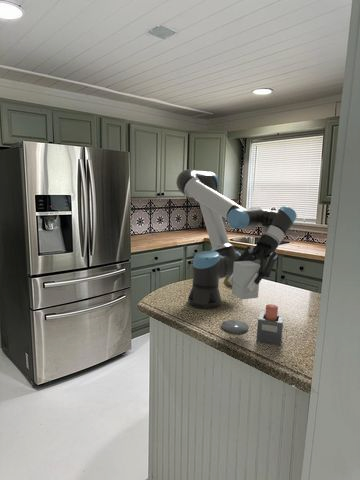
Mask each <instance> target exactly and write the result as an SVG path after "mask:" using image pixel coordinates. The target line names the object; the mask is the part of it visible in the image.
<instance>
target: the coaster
mask: <svg viewBox="0 0 360 480" xmlns="http://www.w3.org/2000/svg"><path fill="white" fill-rule="evenodd" d="M222 328H223V329H224V330H223V329H222ZM221 329H222V330H223V331H224V332H227V331H228V332H227V333H229V332H231V333H230V334H234V333H239V334H240V333H242V334H246V333H247V332H248V331H249V325H248V324H247V323H246V322H245V321H242V320H238V319H228V320H223V322H221ZM239 334H238V335H239ZM240 335H241V334H240Z"/></svg>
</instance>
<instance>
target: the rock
mask: <svg viewBox="0 0 360 480" xmlns="http://www.w3.org/2000/svg"><path fill="white" fill-rule="evenodd" d="M229 278H230V277H225V278H223V279H224V280H223V283H224V284H225V285H227V286H230V287H232V285H231V284H230V283H229V282H228V279H229Z"/></svg>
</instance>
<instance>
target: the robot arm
mask: <svg viewBox="0 0 360 480" xmlns="http://www.w3.org/2000/svg"><path fill="white" fill-rule="evenodd" d="M176 187H177V189H178V191H179V192H180V193H181V194H183V195H185V196H186V197H187V198H193V199H194V200H195V201H196V202H198V204H199V207H200V211H201V214H202V217H203V222H204V225H205V228H206V232H207V234H208V237H209V242H210V245H211V250H203V251H199V252H197V253H195V255H194V256H193V262H192V286H191V290H190V292H189V294H188V298H187V304H188V305H189V306H190V307H192V308H195V309H198V310H199V309H200V310H215V309H218V308H220V307H221V306H222V297H221V293H220V290H219V281H220V279H225V277H230V278H229V279H228V282H229V283H230V284H231V285H233V267H234V262H238V261H252V262H255V261H258V260H259V261H260V262H259V265H260V268H259V272H258V273H259V274H258V273H256V274H255V275H254V277H253V278H252V280H251V282H250V283H249V285H248V286H247V288H248V290H249V291H250V292H252V291H253V289H254V288H255V286H256V284H259V285H260V283H261V281H262V280H263V278H266V279H267V278H270V276H271V273H272V272H273V271H272V270H273V268H274V266H275V263H276V261H277V259H279V255H278V253H277V252H276V250H277V249H278V247H279V245H280V244H281V242H282V241H283V239H284V238H285V236H286V234H287V233H288V231H289V230H290V228H292V226H293V225H294V222H295V221H296V219H297V218H298V217H297V216H298V215H297V213H296V211H295V210H294V208H292V207H290V206H287V205H284V206H283V205H282V206H281V207H280V208H279V209H278V210H274V209H273V210H272V209H266V208H262V207H259V206H257V207H256V206H252V207H250V208H245V207H243V206H241V205H240V204H238V203H237V202H235V201H234V200H232V199H230V198H228V197H227V196H224V195H222V194H221V193H219V192H218V190H219V187H220V180H219V177H218V176H217V174H216V173H214V172H213V171H209V170H204V169H203V170H202V169H201V170H200V169H199V170H198V169H189V168H188V169H184V170H182V171H181V172H180V173H179V174H178V176H177V178H176ZM223 218H224V219H226V221H227V223H228V226H229V227H231V228H233V229H240V230H241V229H245V228H247V229H248V228H257V227H262V228H265V230H264V231H263V233H262V234H261V236H260V237H259V239H258V240H257V241H256V245H255V246H254V247H250V246H249V245H248V246H247V247H246V248H245V250H244V251H243V252H242V253H240V252H239V251H238V250H235V246H234V244H232V243H230V240H229V237H228V234H227V230H226V227H225V224H224V221H223ZM268 258H269V259H268Z"/></svg>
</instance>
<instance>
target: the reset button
mask: <svg viewBox="0 0 360 480" xmlns="http://www.w3.org/2000/svg"><path fill="white" fill-rule="evenodd" d="M278 312H279V307H278V305H275V304H272V303H271V304H270V303H269V304H266V305H265V312H264V313H265V319H267V320H273V321H277V315H279V314H278Z"/></svg>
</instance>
